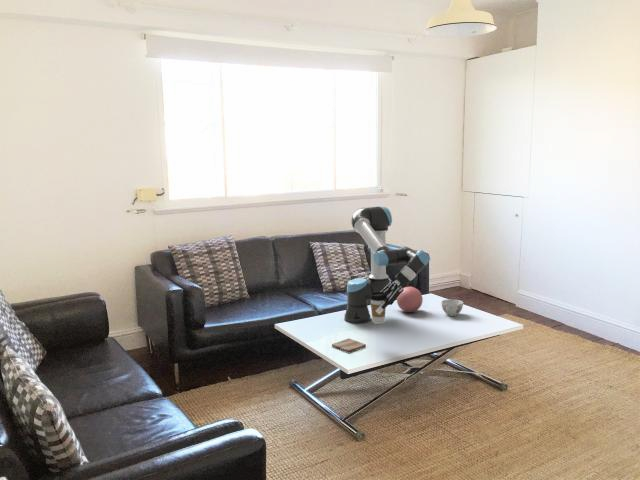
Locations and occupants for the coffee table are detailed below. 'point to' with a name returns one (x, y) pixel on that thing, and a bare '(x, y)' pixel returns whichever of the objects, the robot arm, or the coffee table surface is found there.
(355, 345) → the plate
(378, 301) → the coffee cup
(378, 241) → the robot arm
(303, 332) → the coffee table surface
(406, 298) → the pink rubber ball
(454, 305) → the teacup
